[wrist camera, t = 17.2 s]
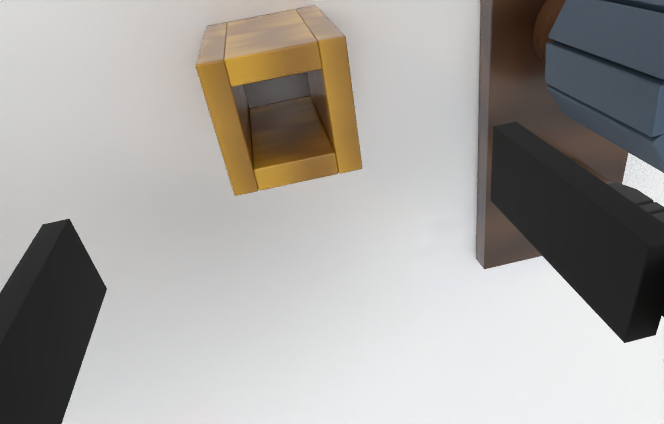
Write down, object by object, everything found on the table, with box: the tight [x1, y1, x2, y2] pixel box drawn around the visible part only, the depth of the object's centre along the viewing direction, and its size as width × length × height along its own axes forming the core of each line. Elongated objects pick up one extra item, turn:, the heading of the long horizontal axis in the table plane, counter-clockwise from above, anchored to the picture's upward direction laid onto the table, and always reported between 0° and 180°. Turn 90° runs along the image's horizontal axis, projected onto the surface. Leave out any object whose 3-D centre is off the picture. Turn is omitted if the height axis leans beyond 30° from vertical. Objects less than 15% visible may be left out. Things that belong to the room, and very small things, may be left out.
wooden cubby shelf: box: [196, 6, 362, 196], centre depth 25 cm, size 6×6×9 cm
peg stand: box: [476, 0, 628, 269], centre depth 28 cm, size 24×11×14 cm, turn 9°
